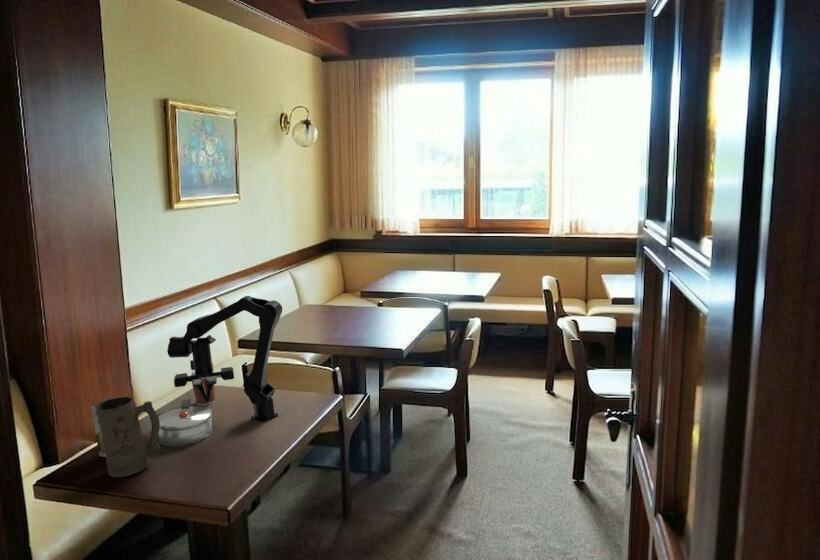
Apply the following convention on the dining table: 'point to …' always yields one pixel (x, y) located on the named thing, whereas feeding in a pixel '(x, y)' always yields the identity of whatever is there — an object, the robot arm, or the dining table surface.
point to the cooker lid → (184, 417)
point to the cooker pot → (185, 434)
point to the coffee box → (98, 428)
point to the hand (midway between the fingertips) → (207, 401)
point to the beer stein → (126, 435)
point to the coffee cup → (198, 394)
